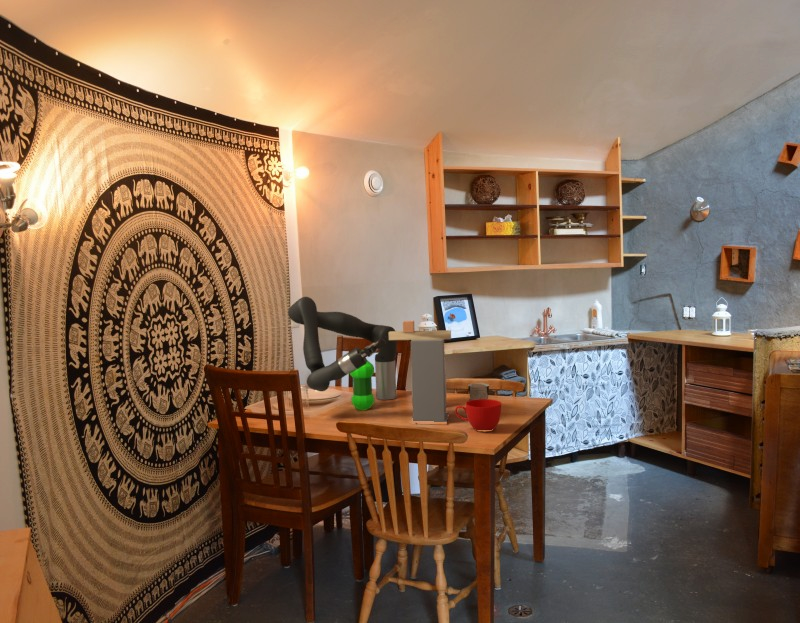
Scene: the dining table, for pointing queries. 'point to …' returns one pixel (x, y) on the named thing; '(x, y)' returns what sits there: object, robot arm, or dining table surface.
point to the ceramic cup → (482, 413)
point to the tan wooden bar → (419, 335)
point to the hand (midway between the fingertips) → (386, 340)
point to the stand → (428, 380)
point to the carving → (478, 392)
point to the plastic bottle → (363, 387)
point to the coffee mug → (479, 383)
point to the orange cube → (408, 326)
